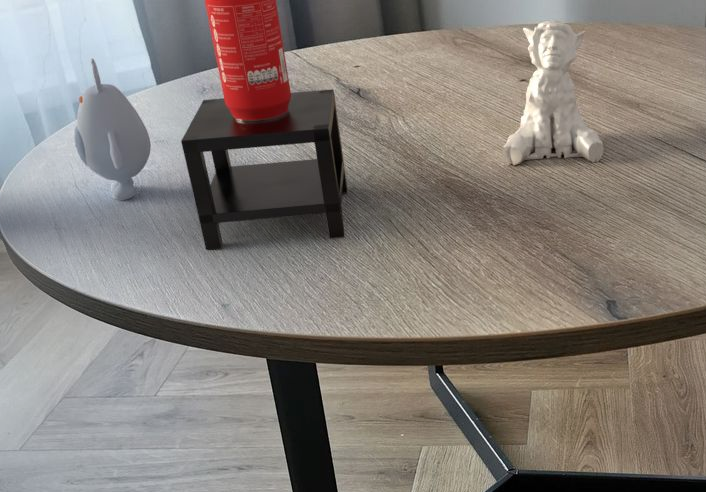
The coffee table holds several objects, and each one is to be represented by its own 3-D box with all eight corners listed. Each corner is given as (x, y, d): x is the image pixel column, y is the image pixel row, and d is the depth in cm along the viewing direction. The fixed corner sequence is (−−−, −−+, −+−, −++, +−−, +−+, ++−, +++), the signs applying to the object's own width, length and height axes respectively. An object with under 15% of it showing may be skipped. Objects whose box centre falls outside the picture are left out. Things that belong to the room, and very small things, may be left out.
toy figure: (89, 181, 92) (53, 53, 85) (156, 169, 94) (125, 44, 87) (93, 219, 83) (53, 81, 77) (167, 206, 85) (134, 70, 79)
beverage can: (227, 126, 74) (194, -39, 68) (228, 107, 79) (197, -49, 72) (295, 118, 75) (268, -46, 69) (291, 100, 79) (266, -55, 73)
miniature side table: (205, 250, 76) (180, 140, 72) (224, 199, 86) (203, 99, 81) (344, 237, 77) (328, 128, 72) (347, 188, 87) (333, 89, 82)
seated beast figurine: (502, 167, 89) (495, 35, 83) (502, 137, 96) (496, 14, 90) (604, 162, 89) (604, 29, 83) (596, 133, 96) (596, 9, 90)
